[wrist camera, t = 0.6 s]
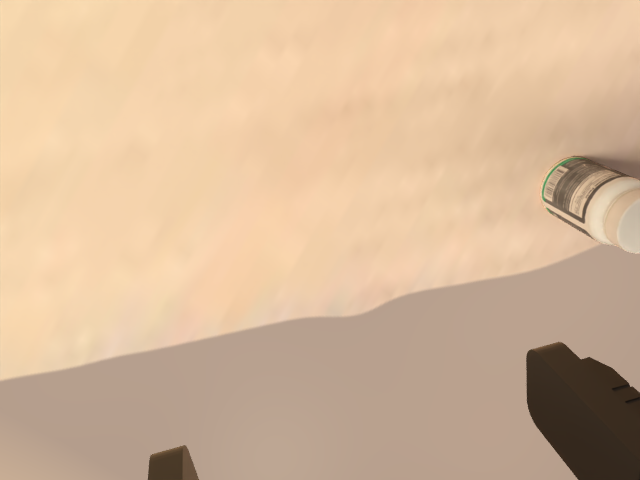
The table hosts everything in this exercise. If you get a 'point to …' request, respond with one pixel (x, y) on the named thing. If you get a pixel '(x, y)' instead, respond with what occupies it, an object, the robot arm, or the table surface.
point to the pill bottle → (595, 201)
